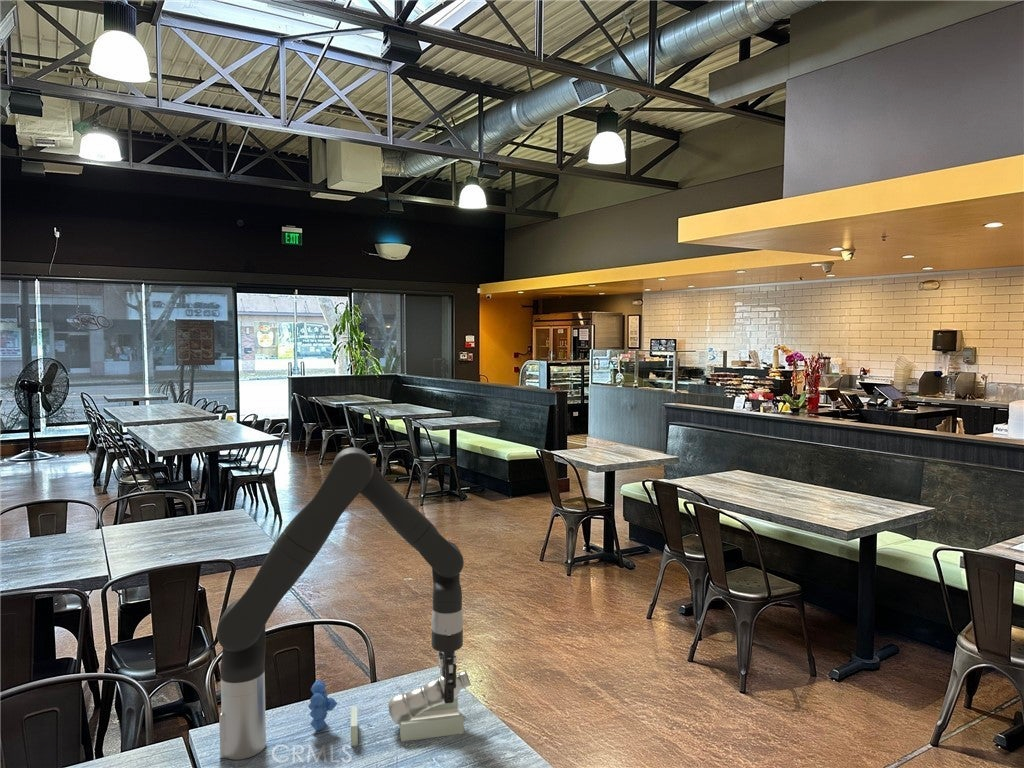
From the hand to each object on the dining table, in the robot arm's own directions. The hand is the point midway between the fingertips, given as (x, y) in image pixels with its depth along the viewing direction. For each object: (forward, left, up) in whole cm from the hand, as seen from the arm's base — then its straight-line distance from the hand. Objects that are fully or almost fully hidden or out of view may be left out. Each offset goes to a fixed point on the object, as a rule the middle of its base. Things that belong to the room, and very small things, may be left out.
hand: (447, 695), depth 164 cm
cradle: (-3, 0, -7) cm, 7 cm away
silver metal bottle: (-14, +1, -3) cm, 14 cm away
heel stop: (-22, 0, -7) cm, 23 cm away
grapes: (-29, +4, -7) cm, 30 cm away
